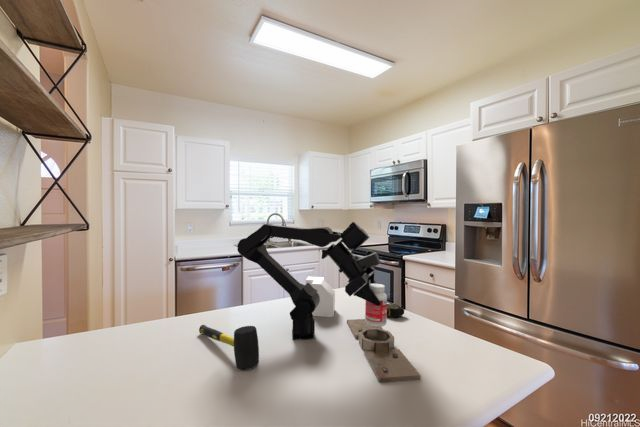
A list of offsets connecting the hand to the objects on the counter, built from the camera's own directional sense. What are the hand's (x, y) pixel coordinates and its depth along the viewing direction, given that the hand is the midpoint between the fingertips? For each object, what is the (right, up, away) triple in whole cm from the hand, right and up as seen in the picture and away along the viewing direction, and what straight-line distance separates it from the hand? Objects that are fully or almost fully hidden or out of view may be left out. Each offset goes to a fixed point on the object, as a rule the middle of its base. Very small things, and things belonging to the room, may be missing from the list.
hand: (381, 301), depth 79 cm
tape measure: (+10, -13, +24) cm, 29 cm away
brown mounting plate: (-1, -13, +1) cm, 13 cm away
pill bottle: (-1, -7, +1) cm, 7 cm away
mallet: (-45, -13, -2) cm, 47 cm away
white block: (-18, -13, +28) cm, 35 cm away
